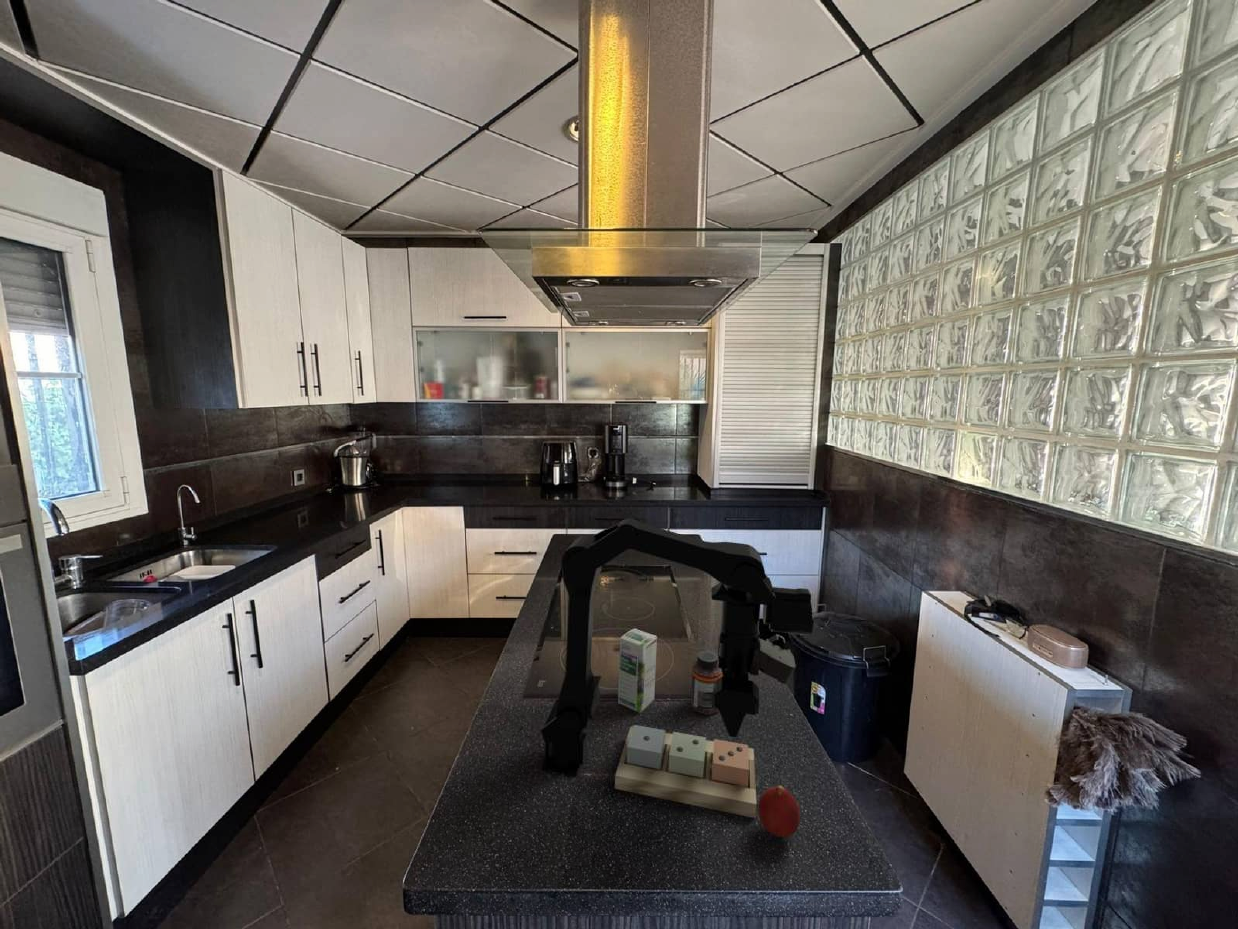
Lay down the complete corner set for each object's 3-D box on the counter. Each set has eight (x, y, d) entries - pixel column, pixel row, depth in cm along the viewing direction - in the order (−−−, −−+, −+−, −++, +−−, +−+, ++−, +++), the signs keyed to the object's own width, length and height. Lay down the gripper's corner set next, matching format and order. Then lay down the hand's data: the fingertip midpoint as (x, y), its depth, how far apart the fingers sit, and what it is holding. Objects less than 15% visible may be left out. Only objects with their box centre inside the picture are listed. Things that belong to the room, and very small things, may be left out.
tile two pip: (668, 771, 81) (669, 754, 80) (672, 747, 86) (673, 731, 85) (702, 778, 79) (704, 760, 79) (705, 753, 85) (705, 737, 84)
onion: (766, 810, 76) (769, 764, 75) (803, 832, 73) (808, 784, 71) (750, 836, 72) (753, 787, 70) (789, 860, 68) (793, 809, 67)
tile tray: (614, 788, 80) (615, 775, 79) (630, 738, 91) (630, 726, 91) (755, 818, 75) (756, 804, 74) (752, 761, 86) (753, 748, 86)
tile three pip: (711, 779, 79) (712, 762, 78) (713, 755, 84) (714, 738, 84) (747, 786, 78) (748, 769, 77) (746, 761, 83) (748, 744, 83)
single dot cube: (626, 763, 82) (627, 746, 82) (633, 740, 87) (633, 724, 87) (659, 769, 81) (660, 752, 80) (664, 745, 86) (665, 729, 86)
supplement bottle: (695, 694, 105) (698, 645, 103) (723, 703, 102) (726, 652, 100) (686, 710, 99) (689, 658, 98) (715, 720, 97) (718, 666, 95)
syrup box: (616, 703, 101) (618, 637, 99) (632, 689, 106) (634, 626, 104) (640, 714, 98) (642, 646, 96) (655, 699, 103) (657, 634, 101)
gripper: (801, 666, 66) (791, 770, 68) (787, 607, 84) (780, 691, 86) (717, 654, 69) (710, 754, 71) (721, 599, 86) (716, 681, 89)
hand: (733, 717), depth 79 cm, fingers open, 9 cm apart
